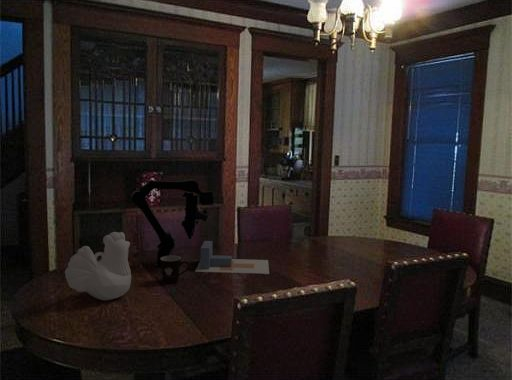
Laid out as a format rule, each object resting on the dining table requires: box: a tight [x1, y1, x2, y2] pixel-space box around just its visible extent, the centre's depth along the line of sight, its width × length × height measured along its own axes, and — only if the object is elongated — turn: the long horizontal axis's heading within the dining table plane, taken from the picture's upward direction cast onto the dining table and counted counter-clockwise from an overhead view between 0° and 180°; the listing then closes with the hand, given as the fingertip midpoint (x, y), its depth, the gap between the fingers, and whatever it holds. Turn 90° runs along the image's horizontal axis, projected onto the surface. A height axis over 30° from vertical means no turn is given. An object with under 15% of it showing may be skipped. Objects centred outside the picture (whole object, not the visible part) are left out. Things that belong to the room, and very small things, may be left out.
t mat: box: [194, 258, 270, 275], centre depth 205 cm, size 34×22×1 cm, turn 90°
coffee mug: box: [160, 255, 190, 285], centre depth 180 cm, size 12×9×10 cm
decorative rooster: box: [64, 231, 132, 301], centre depth 159 cm, size 25×16×25 cm, turn 127°
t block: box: [200, 240, 233, 269], centre depth 205 cm, size 14×14×10 cm
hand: (191, 237), depth 206 cm, fingers open, 5 cm apart
